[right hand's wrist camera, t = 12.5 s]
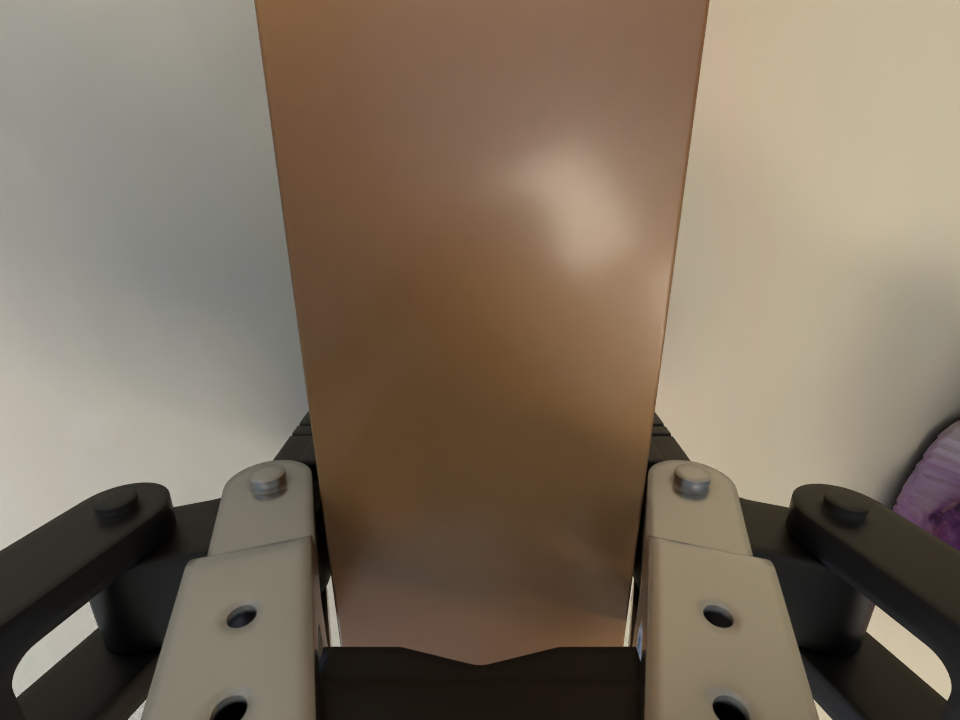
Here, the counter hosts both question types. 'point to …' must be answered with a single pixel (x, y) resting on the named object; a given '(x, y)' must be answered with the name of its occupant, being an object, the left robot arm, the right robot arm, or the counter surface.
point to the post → (481, 300)
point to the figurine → (935, 489)
